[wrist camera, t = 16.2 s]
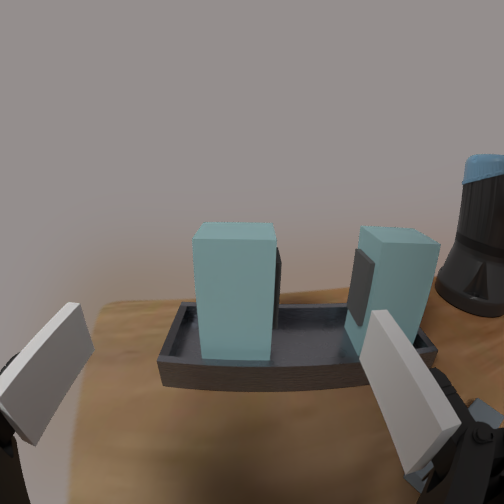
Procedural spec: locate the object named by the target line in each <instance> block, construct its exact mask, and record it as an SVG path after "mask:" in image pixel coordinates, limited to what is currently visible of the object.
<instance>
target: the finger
mask: <svg viewBox="0 0 504 504" xmlns="http://www.w3.org/2000/svg"><path fill="white" fill-rule="evenodd" d="M192 244H193V262H194V277H195V291H196V303H197V315H198V326H199V336H200V345H201V354H202V359H222V360H270V353H271V338H272V329H277V326H278V311H279V297H280V281H281V259H280V255H279V250H278V248H277V247H276V245H277V239H276V235H275V231H274V227H273V223H244V222H237V223H236V222H204V223H203V224H202V225H201V227H200V228H199V230H198V231H197V233H196V234H195V235H194V237H193V238H192Z"/></svg>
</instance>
